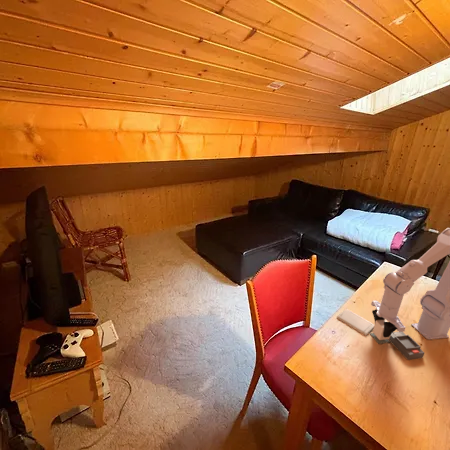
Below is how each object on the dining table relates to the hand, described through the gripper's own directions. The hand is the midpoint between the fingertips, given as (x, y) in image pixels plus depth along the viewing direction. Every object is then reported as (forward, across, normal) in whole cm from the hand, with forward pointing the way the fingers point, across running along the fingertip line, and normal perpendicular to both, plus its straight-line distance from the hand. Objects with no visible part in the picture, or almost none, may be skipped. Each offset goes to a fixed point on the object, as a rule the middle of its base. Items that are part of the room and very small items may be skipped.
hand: (381, 331), depth 94 cm
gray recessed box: (+3, +5, +6) cm, 8 cm away
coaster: (+3, 0, 0) cm, 3 cm away
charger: (+2, 0, 0) cm, 2 cm away
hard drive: (+4, -9, -4) cm, 11 cm away
